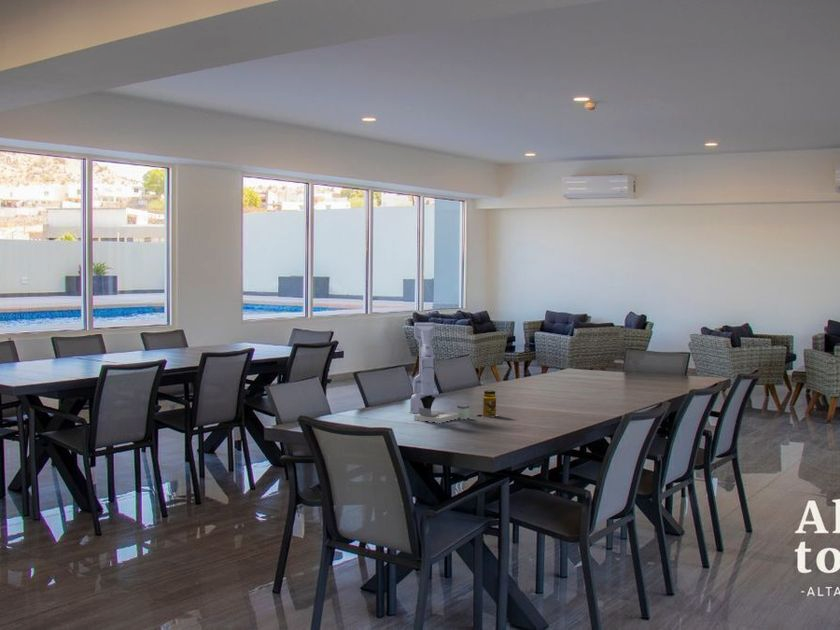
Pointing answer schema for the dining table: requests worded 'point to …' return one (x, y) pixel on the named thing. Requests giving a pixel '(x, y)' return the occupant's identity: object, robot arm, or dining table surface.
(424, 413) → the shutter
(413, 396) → the robot arm
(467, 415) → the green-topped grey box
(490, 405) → the yellow metal cylinder
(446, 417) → the socket
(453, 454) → the dining table surface
